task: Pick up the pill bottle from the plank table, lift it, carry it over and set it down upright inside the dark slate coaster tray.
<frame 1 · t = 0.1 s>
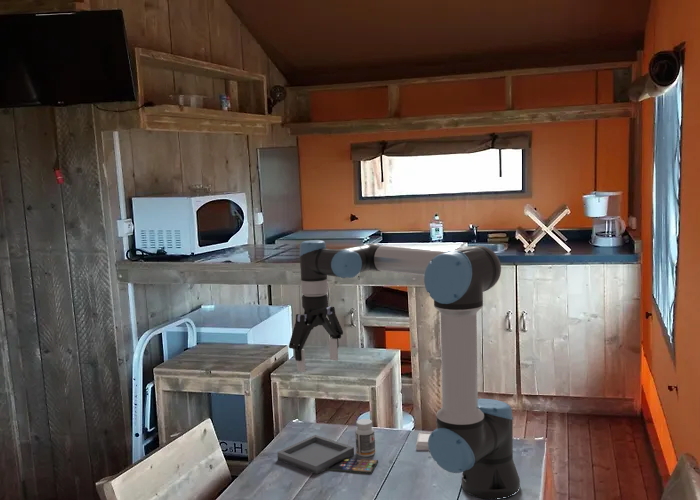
hand: (318, 365, 203), 28 cm above the table, fingers open, 13 cm apart
smartphone: (349, 467, 199), on the table
slate tray: (316, 457, 206), on the table
pill bottle: (365, 454, 207), on the table
soap bar: (425, 445, 212), on the table
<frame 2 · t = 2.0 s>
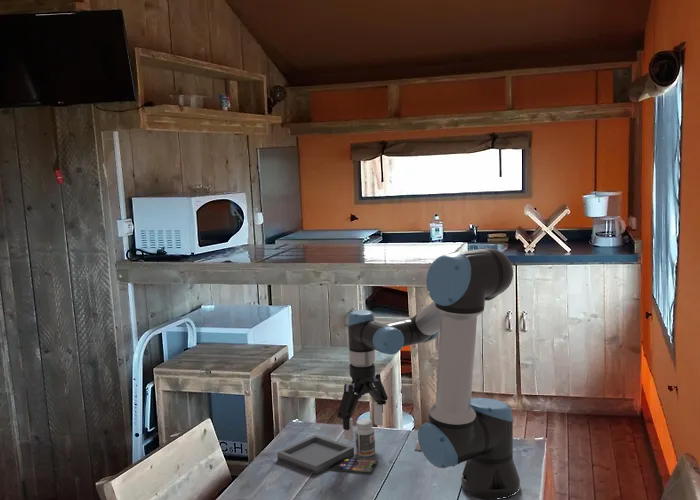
hand: (364, 432, 207), 7 cm above the table, fingers open, 13 cm apart
nothing on the table moved.
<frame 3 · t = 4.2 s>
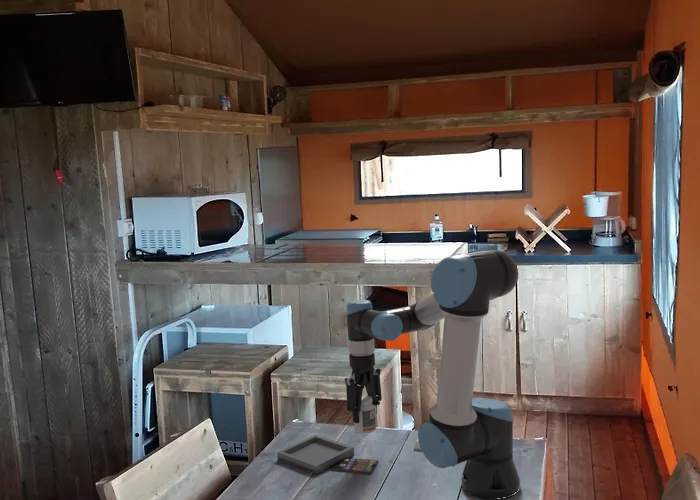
hand: (366, 429, 206), 8 cm above the table, fingers closed on pill bottle, 6 cm apart
pill bottle: (366, 431, 206), point 7 cm above the table, touching gripper
everything else where it was.
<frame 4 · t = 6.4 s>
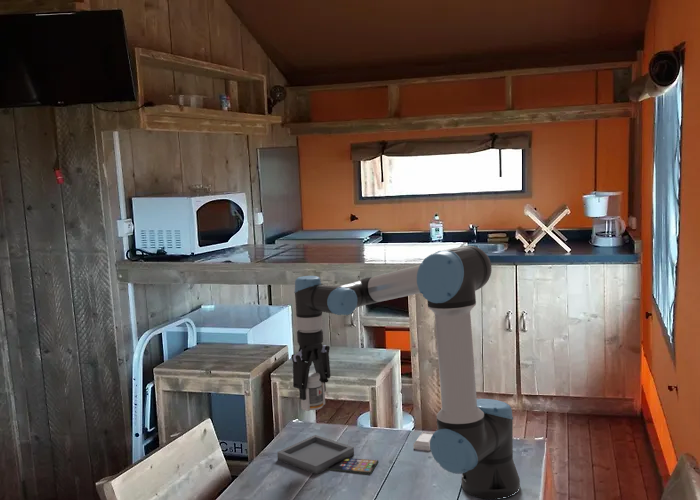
hand: (313, 406, 204), 16 cm above the table, fingers closed on pill bottle, 6 cm apart
pill bottle: (313, 408, 204), point 15 cm above the table, touching gripper
everything else where it was.
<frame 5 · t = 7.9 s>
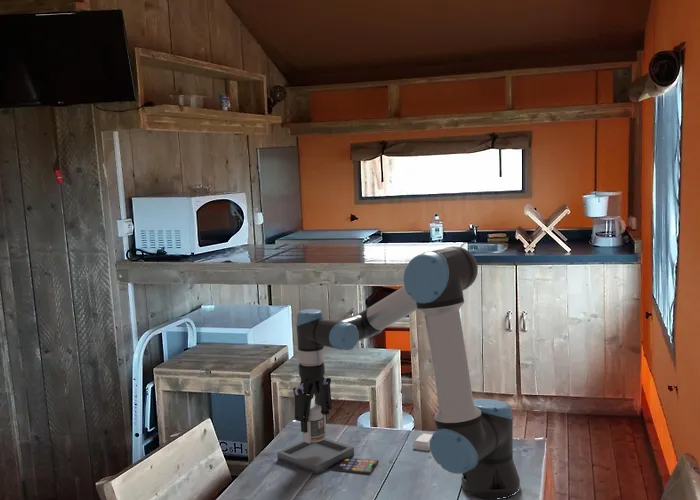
hand: (314, 438, 205), 6 cm above the table, fingers closed on pill bottle, 6 cm apart
pill bottle: (314, 439, 205), point 5 cm above the table, touching gripper
everything else where it was.
when the fingers open (2 cm above the table, at t = 9.1 s): pill bottle stays where it is, resting on slate tray.
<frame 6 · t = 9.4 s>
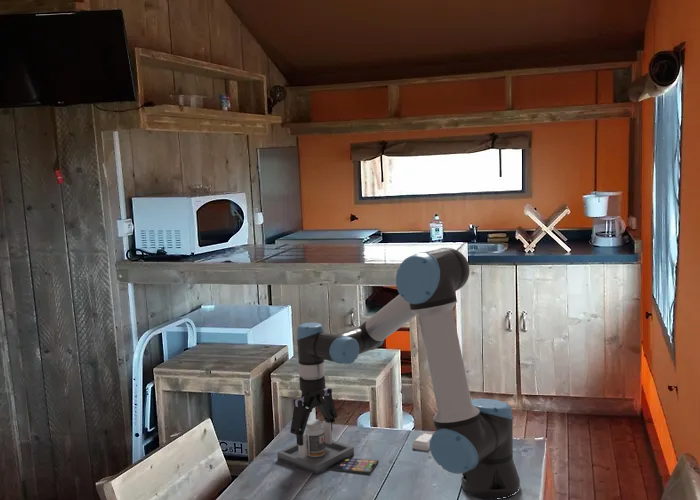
hand: (315, 448, 205), 3 cm above the table, fingers open, 10 cm apart
pill bottle: (316, 454, 206), point 1 cm above the table, touching slate tray
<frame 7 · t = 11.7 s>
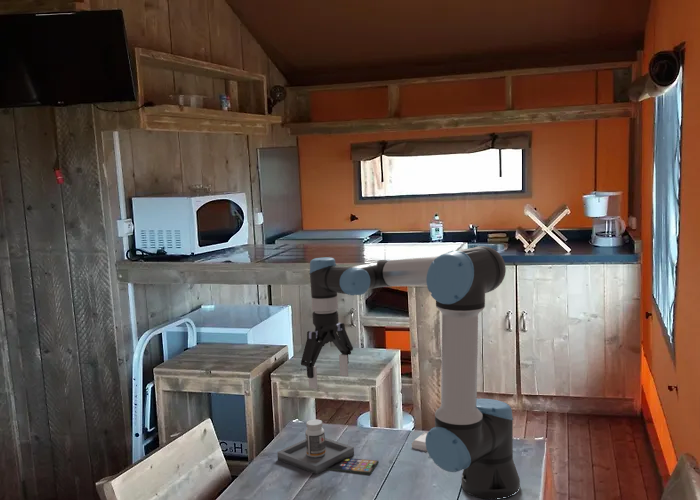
hand: (329, 381, 204), 23 cm above the table, fingers open, 13 cm apart
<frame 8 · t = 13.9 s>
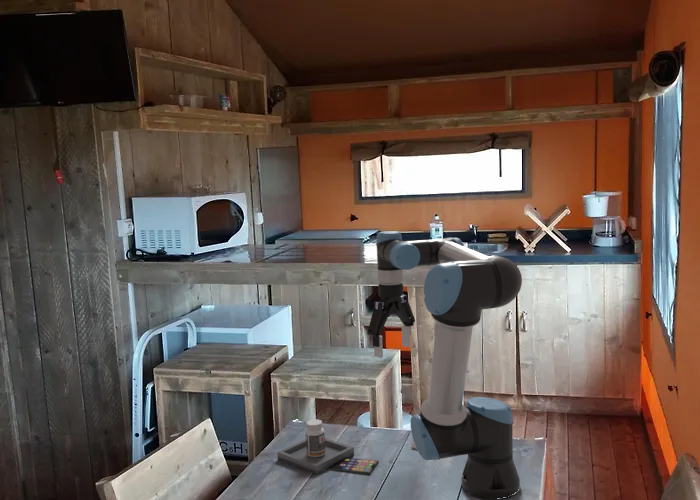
hand: (392, 351, 211), 29 cm above the table, fingers open, 13 cm apart
at the end: pill bottle inside the target area on the slate tray (0.1 cm from its centre), point 0.8 cm above the slate tray's base; pill bottle tilted 0°; the gripper is holding nothing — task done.
